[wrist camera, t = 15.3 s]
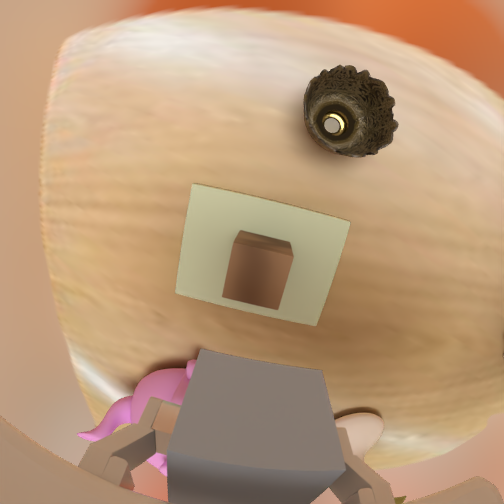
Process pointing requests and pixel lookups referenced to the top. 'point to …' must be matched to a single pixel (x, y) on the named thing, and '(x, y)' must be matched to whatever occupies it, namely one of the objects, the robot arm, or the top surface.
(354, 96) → the dark brown round piece
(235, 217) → the base plate
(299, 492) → the slate block
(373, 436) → the flower in vase
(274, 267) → the walnut block
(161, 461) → the teapot
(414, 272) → the top surface
